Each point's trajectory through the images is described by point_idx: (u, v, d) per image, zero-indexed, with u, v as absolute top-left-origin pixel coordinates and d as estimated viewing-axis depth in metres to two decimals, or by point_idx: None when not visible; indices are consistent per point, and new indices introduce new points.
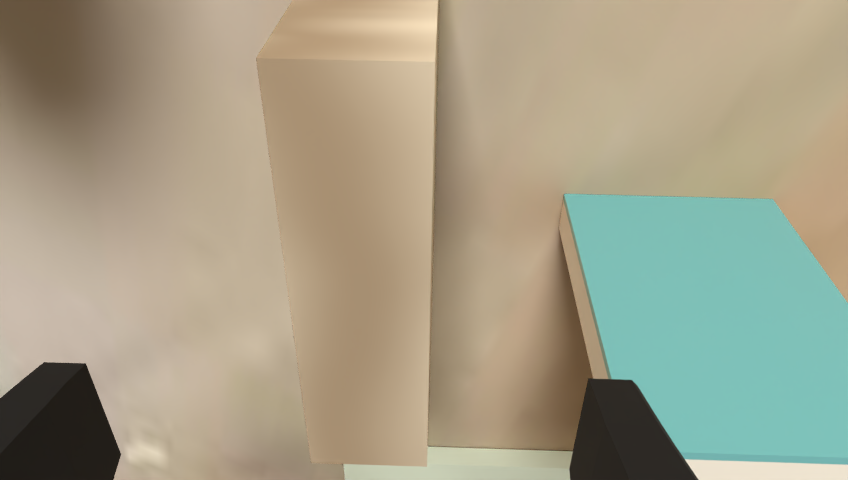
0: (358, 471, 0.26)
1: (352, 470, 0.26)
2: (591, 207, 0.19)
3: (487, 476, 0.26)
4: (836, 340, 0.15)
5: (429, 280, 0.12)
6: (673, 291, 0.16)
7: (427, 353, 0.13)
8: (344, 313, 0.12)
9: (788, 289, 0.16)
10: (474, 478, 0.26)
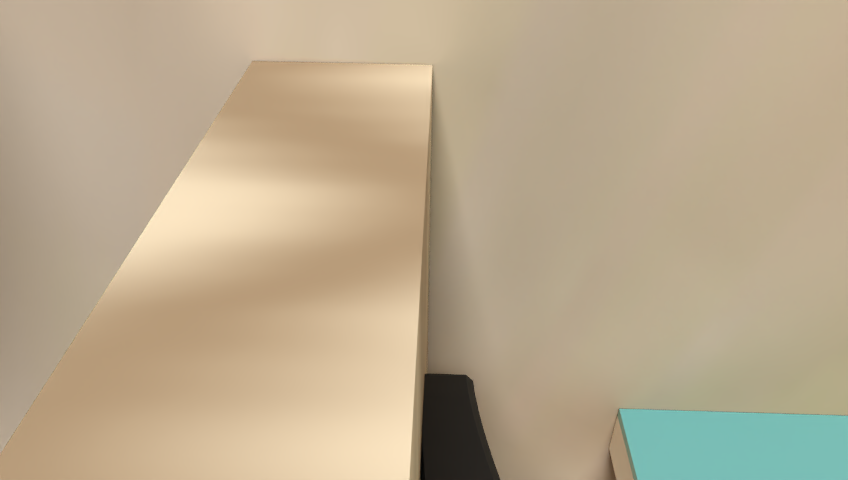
0: None
1: None
2: (663, 439, 0.13)
3: None
4: None
5: None
6: None
7: None
8: None
9: None
10: None
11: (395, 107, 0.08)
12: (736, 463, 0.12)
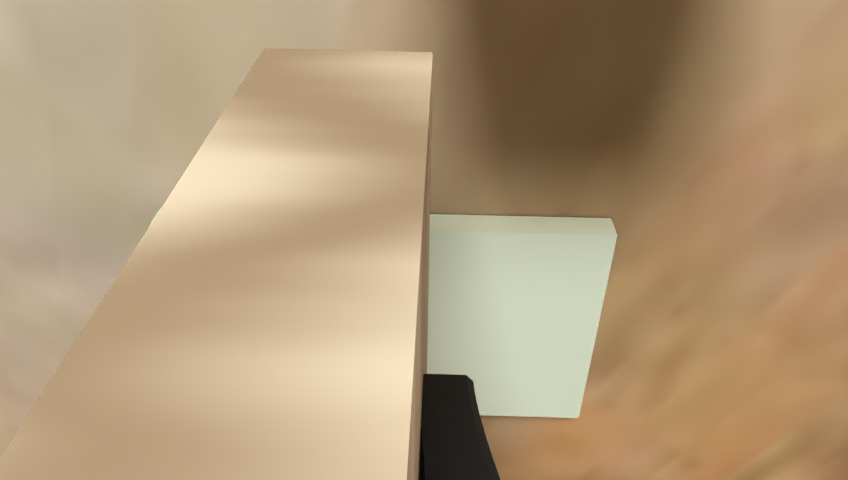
0: None
1: None
2: None
3: None
4: None
5: None
6: None
7: None
8: None
9: None
10: None
11: (399, 89, 0.09)
12: None
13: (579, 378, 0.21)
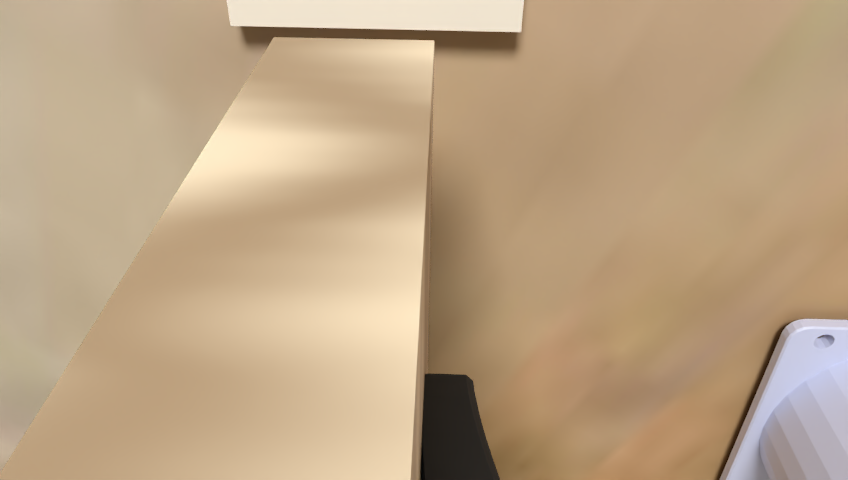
0: None
1: None
2: None
3: None
4: None
5: None
6: None
7: None
8: None
9: None
10: None
11: (402, 73, 0.09)
12: None
13: None
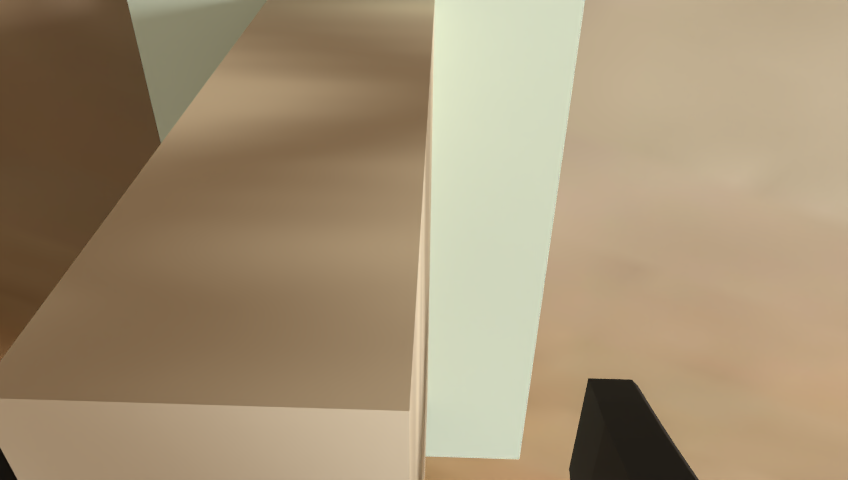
0: None
1: None
2: None
3: (515, 242, 0.13)
4: None
5: None
6: None
7: None
8: None
9: None
10: (509, 220, 0.13)
11: (402, 28, 0.09)
12: None
13: None
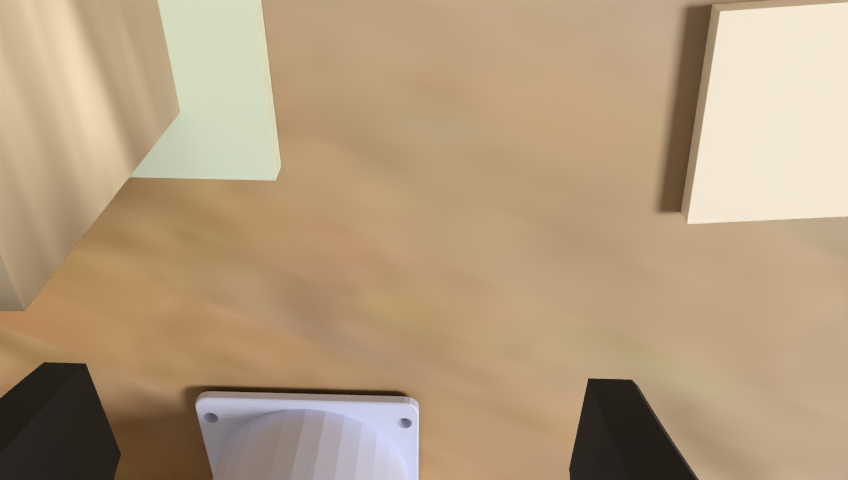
0: None
1: None
2: None
3: None
4: None
5: None
6: None
7: None
8: None
9: None
10: None
11: None
12: None
13: None
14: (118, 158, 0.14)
